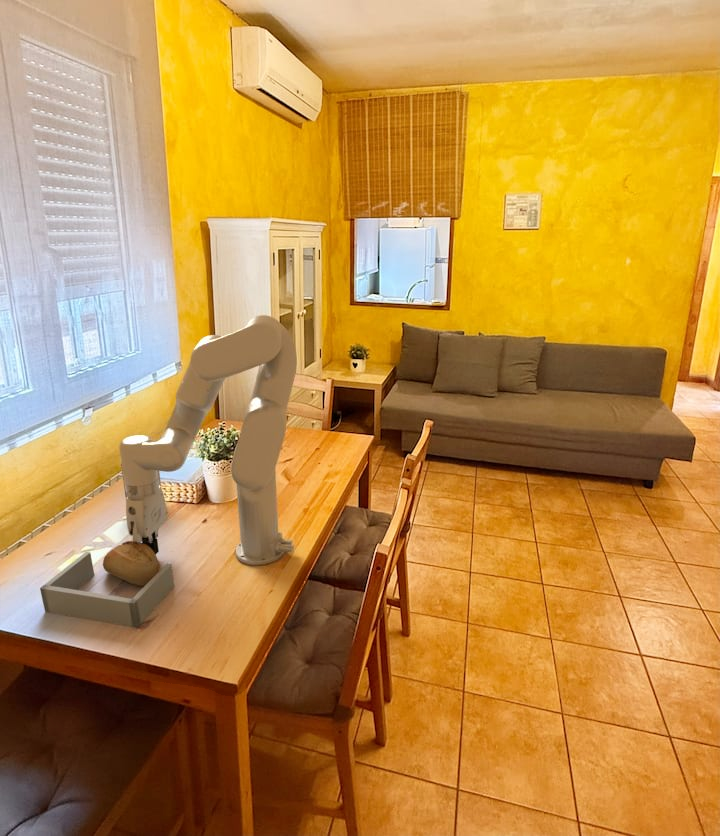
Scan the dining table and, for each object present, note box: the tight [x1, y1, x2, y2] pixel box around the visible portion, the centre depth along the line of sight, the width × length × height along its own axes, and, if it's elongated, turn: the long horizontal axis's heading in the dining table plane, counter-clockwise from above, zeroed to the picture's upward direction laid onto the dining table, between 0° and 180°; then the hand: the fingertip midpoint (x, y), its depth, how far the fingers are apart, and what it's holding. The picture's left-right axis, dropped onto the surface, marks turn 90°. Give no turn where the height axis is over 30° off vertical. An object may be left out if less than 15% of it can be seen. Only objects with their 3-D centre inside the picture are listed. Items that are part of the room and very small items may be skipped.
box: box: [39, 551, 175, 628], centre depth 120 cm, size 22×14×6 cm, turn 77°
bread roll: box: [102, 540, 161, 587], centre depth 128 cm, size 10×15×8 cm, turn 65°
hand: (151, 553), depth 135 cm, fingers closed
